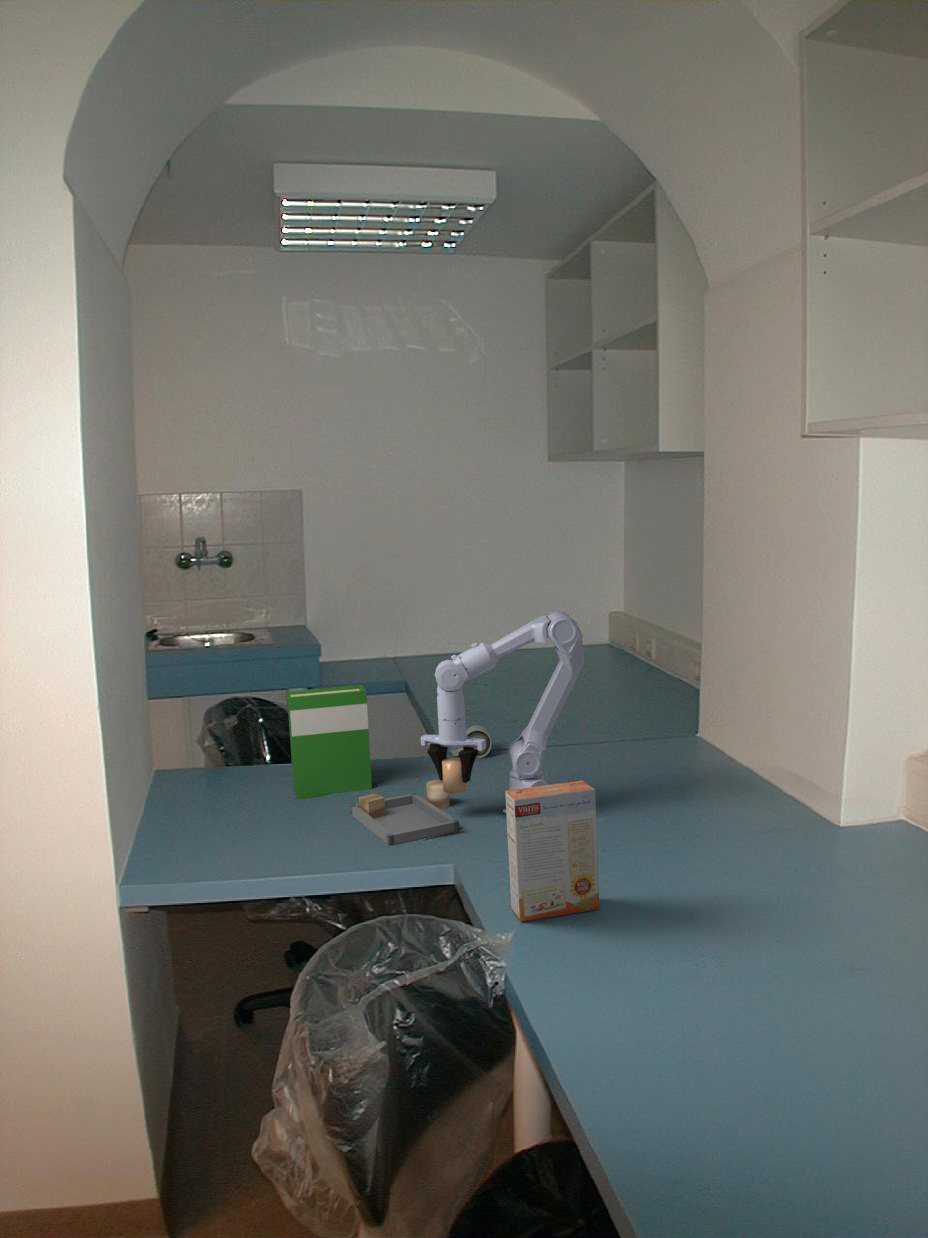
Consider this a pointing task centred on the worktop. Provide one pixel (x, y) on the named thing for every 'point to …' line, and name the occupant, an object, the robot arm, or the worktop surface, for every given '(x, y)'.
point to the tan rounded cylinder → (453, 776)
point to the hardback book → (329, 741)
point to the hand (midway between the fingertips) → (454, 780)
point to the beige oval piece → (437, 794)
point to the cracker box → (552, 850)
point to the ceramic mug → (480, 734)
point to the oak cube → (372, 805)
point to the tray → (407, 820)
